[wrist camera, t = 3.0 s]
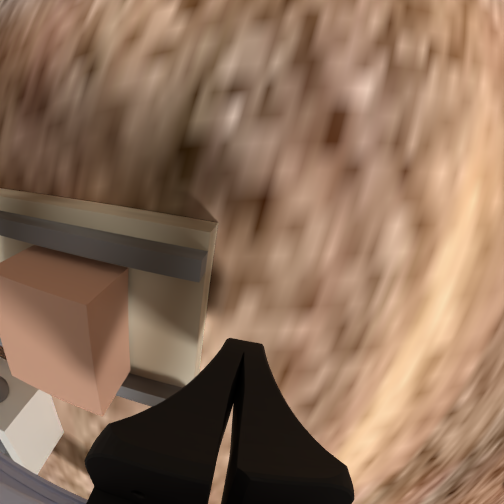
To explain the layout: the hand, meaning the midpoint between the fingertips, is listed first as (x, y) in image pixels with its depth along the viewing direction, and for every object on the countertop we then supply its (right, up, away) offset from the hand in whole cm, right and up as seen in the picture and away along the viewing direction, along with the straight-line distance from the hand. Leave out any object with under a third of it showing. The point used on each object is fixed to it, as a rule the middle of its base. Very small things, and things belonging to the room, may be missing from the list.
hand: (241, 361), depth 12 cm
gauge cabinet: (-17, -7, +6) cm, 19 cm away
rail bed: (-11, +3, +2) cm, 12 cm away
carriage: (-7, +2, +1) cm, 7 cm away
